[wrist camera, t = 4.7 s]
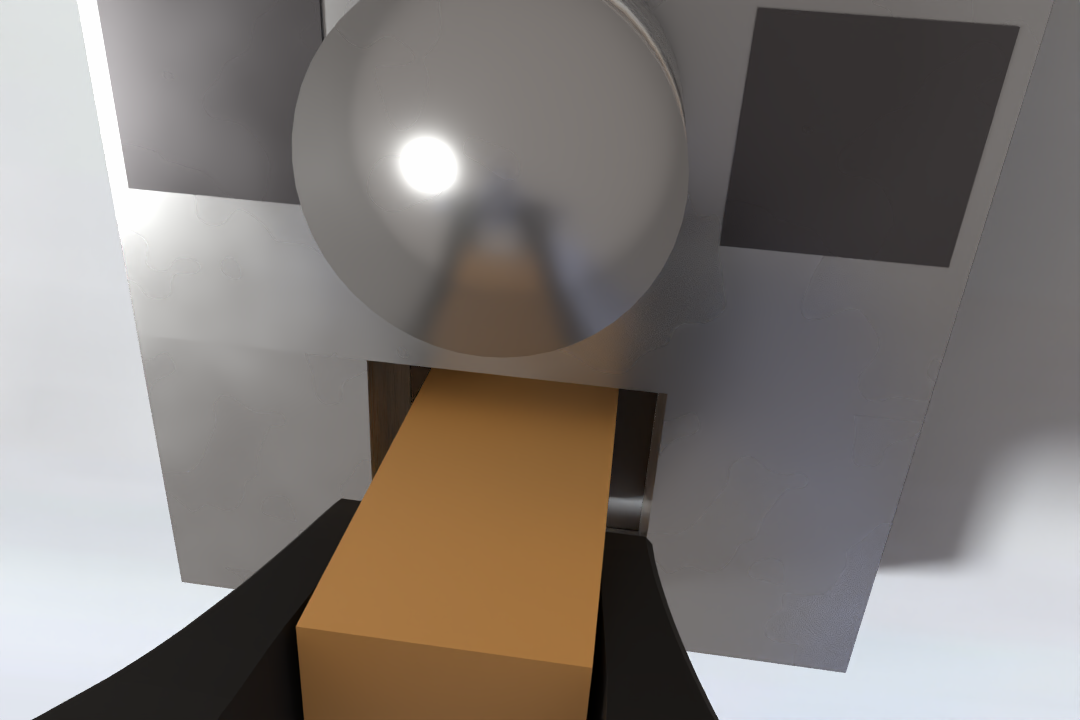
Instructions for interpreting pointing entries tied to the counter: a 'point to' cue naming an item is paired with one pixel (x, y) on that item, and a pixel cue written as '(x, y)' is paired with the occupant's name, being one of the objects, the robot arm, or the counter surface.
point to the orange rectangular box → (470, 560)
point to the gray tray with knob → (562, 256)
